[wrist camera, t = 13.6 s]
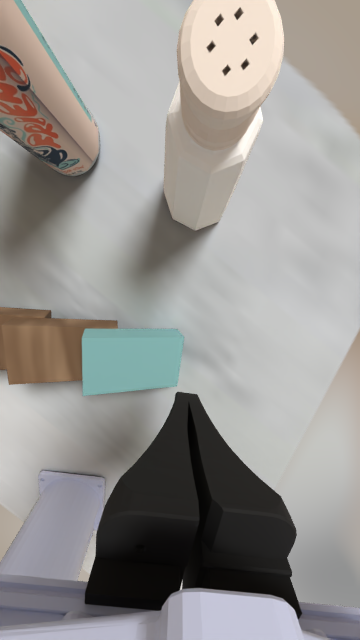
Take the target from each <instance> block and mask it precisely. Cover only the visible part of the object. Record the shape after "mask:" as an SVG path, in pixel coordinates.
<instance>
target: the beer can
mask: <svg viewBox="0 0 360 640" xmlns="http://www.w3.org/2000/svg"><path fill="white" fill-rule="evenodd" d="M0 131H2V132H3V133H4V134H6V135H7V136H9V137H10V138H11V139H13V140H14V141H15V142H17V143H18V144H19V145H21V146H22V147H23V148H25V149H26V150H28V151H29V152H30V153H32V154H33V155H34V156H36V157H37V158H38V159H40V160H41V161H42V162H44V163H45V164H47V165H48V166H49V167H51V168H52V169H54V170H55V171H57V172H59V173H61V174H64V175H67V176H77V175H80V174H83V173H85V172H87V171H88V170H89V169H90V168H91V167H92V166H93V165H94V163H95V162H96V160H97V157H98V154H99V150H100V135H99V129H98V126H97V123H96V121H95V119H94V117H93V115H92V113H91V112H90V111H89V110H88V108H87V107H86V106H85V105H84V103H83V101H82V100H81V98H80V96H79V95H78V93H77V91H76V90H75V88H74V86H73V85H72V83H71V82H70V80H69V78H68V77H67V75H66V73H65V72H64V70H63V68H62V67H61V65H60V63H59V62H58V60H57V59H56V57H55V55H54V54H53V52H52V50H51V49H50V47H49V45H48V44H47V42H46V40H45V39H44V37H43V35H42V34H41V32H40V31H39V29H38V27H37V26H36V24H35V22H34V21H33V19H32V17H31V16H30V14H29V12H28V11H27V9H26V8H25V6H24V4H23V3H22V1H21V0H0Z"/></svg>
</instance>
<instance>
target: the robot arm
mask: <svg viewBox="0 0 360 640" xmlns="http://www.w3.org/2000/svg"><path fill="white" fill-rule="evenodd" d="M38 478H39V491H40V498H39V499H38V501H37V502H36V504H35V506H34V507H33V509H32V511H31V512H30V514H29V516H28V517H27V519H26V521H25V522H24V524H23V526H22V527H21V529H20V531H19V532H18V534H17V535H16V537H15V539H14V540H13V542H12V544H11V546H10V547H9V549H8V550H7V552H6V554H5V555H4V557H3V559H2V560H1V562H0V640H360V608H357V607H346V606H336V605H325V604H315V603H304V602H298V600H297V597H296V594H295V591H294V588H293V585H292V582H291V580H290V577H291V576H292V571H291V568H290V565H289V562H288V560H287V557H288V555H289V553H290V551H291V549H292V547H293V545H294V542H295V539H296V535H297V534H296V528H295V526H294V524H293V521H292V519H291V516H290V514H289V512H288V510H287V508H286V506H285V504H284V502H283V500H282V498H281V496H280V495H279V494H277V493H276V492H275V491H274V490H273V489H271V488H270V487H269V486H268V485H267V484H265V483H264V482H263V481H262V480H261V479H260V478H259V477H258V476H256V475H255V474H254V473H253V472H252V471H251V470H250V469H249V468H248V467H247V466H246V465H245V464H244V463H243V462H242V461H241V460H240V458H239V457H238V456H237V455H236V454H235V453H234V452H233V451H232V450H231V448H230V447H229V446H228V445H227V443H226V442H225V441H224V439H223V438H222V437H221V435H220V434H219V432H218V431H217V429H216V428H215V426H214V425H213V423H212V422H211V420H210V418H209V416H208V415H207V413H206V411H205V409H204V407H203V405H202V403H201V401H200V399H199V397H198V395H197V394H190V393H183V392H177V393H176V395H175V401H174V404H173V407H172V409H171V411H170V414H169V416H168V418H167V420H166V422H165V423H164V425H163V427H162V429H161V430H160V432H159V433H158V435H157V436H156V438H155V439H154V441H153V442H152V443H151V445H150V446H149V447H148V449H147V450H146V451H145V452H144V453H143V455H142V456H141V457H140V458H139V459H138V460H137V462H136V463H135V464H134V465H133V466H132V467H131V468H130V469H129V470H128V471H127V472H126V473H125V474H124V475H123V476H122V477H121V478H120V479H119V481H118V483H117V484H116V486H115V488H114V490H113V491H112V493H111V495H110V497H109V499H108V501H107V503H106V505H105V508H104V495H105V479H104V478H103V477H95V476H87V475H78V474H69V473H60V472H52V471H41V472H40V473H39V475H38ZM94 530H97V536H96V557H95V560H94V564H93V567H92V570H91V574H90V577H89V581H88V582H83V581H77V580H78V577H79V574H80V570H81V567H82V564H83V561H84V558H85V555H86V552H87V549H88V546H89V543H90V540H91V537H92V534H93V531H94ZM182 579H183V585H182V590H180V586H181V583H182ZM179 590H180V591H179Z"/></svg>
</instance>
